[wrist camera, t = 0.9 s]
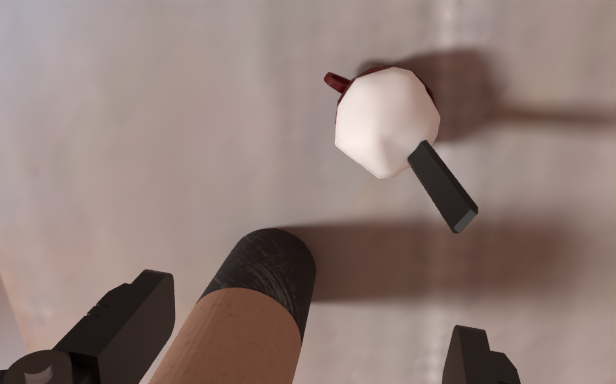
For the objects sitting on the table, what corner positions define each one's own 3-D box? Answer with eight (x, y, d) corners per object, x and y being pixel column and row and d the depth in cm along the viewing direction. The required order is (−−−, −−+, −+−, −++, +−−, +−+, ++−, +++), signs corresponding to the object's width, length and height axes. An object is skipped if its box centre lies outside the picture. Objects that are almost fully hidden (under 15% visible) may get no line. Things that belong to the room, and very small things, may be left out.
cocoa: (317, 78, 34) (267, 119, 23) (395, 24, 31) (381, 41, 20) (390, 188, 35) (376, 274, 25) (469, 145, 33) (492, 219, 22)
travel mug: (210, 251, 40) (59, 473, 22) (283, 208, 37) (180, 420, 19) (264, 318, 42) (167, 574, 24) (337, 282, 39) (291, 538, 21)
